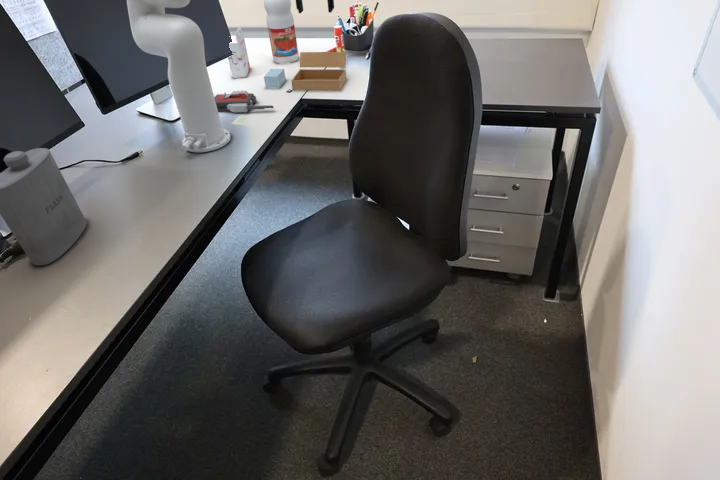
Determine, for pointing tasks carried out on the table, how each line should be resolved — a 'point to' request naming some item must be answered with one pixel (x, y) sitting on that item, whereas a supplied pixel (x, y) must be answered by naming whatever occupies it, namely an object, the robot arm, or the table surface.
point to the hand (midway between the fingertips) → (315, 11)
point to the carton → (319, 79)
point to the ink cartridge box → (238, 56)
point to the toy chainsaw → (237, 102)
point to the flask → (39, 205)
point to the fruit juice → (281, 31)
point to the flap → (322, 59)
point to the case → (274, 78)
